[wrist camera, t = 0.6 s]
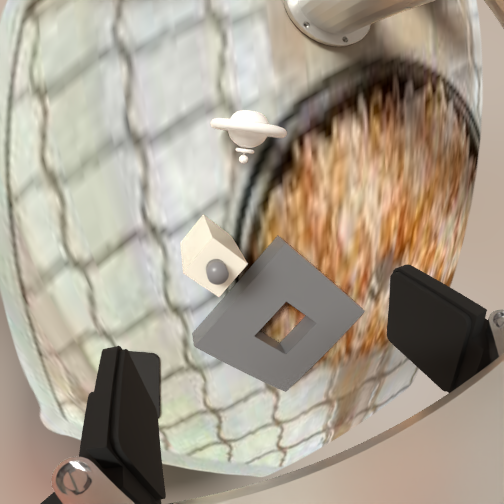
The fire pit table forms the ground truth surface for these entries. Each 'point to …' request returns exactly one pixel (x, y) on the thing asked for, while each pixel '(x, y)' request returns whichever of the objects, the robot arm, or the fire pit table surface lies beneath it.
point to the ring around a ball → (248, 130)
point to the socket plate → (262, 310)
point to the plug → (211, 256)
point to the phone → (148, 374)
